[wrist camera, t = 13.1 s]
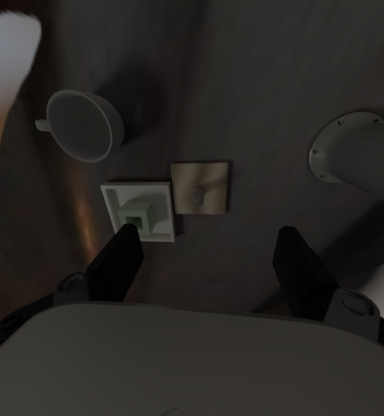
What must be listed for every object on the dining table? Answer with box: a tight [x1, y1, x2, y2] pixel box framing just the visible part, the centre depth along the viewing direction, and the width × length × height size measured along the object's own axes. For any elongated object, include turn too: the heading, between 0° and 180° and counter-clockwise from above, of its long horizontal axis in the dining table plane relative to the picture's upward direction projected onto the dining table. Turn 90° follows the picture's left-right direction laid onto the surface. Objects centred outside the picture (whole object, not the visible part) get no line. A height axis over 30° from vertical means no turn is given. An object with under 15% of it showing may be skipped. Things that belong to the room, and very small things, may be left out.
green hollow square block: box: [118, 201, 156, 235], centre depth 40 cm, size 6×6×5 cm
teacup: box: [36, 89, 124, 162], centre depth 31 cm, size 14×11×8 cm
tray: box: [101, 182, 176, 242], centre depth 42 cm, size 16×16×2 cm
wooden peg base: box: [171, 162, 228, 214], centre depth 36 cm, size 12×12×6 cm
